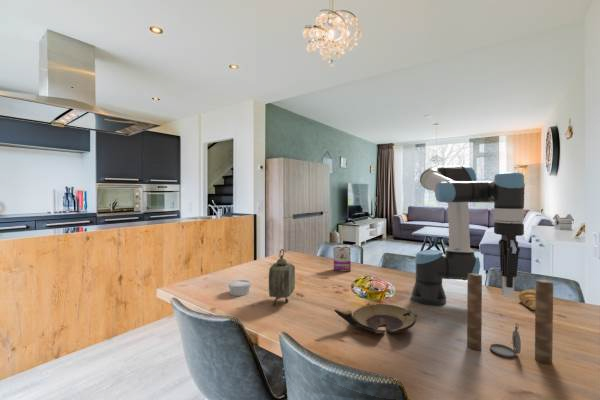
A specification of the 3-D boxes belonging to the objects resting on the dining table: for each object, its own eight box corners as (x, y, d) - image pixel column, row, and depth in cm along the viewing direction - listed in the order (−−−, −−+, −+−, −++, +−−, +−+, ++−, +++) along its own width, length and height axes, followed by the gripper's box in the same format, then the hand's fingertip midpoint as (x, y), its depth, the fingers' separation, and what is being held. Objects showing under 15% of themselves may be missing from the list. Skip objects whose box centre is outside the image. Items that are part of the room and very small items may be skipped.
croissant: (543, 322, 117) (555, 307, 114) (516, 306, 122) (527, 292, 119) (537, 304, 134) (548, 292, 131) (514, 291, 139) (524, 278, 136)
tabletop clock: (277, 295, 138) (277, 246, 138) (295, 297, 136) (295, 246, 136) (268, 307, 124) (268, 252, 124) (288, 309, 122) (288, 252, 122)
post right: (537, 362, 83) (538, 282, 82) (532, 355, 86) (533, 279, 86) (554, 365, 81) (555, 284, 81) (549, 358, 85) (550, 280, 84)
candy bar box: (350, 269, 187) (350, 245, 186) (350, 271, 182) (350, 246, 182) (333, 268, 189) (333, 245, 188) (333, 270, 184) (333, 246, 183)
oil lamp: (422, 347, 91) (423, 324, 91) (332, 335, 99) (332, 314, 99) (413, 318, 113) (413, 299, 113) (340, 310, 121) (340, 293, 121)
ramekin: (253, 289, 148) (253, 279, 148) (247, 297, 137) (247, 286, 137) (233, 289, 149) (233, 279, 149) (225, 296, 138) (225, 286, 138)
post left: (468, 348, 90) (468, 275, 90) (466, 342, 94) (466, 272, 93) (482, 351, 89) (483, 277, 88) (480, 345, 92) (480, 274, 92)
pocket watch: (485, 347, 91) (485, 317, 91) (508, 345, 92) (509, 316, 92) (505, 362, 83) (505, 329, 83) (531, 360, 84) (531, 327, 84)
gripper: (531, 224, 79) (530, 306, 80) (516, 220, 91) (516, 291, 92) (499, 223, 82) (498, 302, 83) (489, 219, 94) (489, 288, 95)
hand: (508, 296), depth 87 cm, fingers closed
